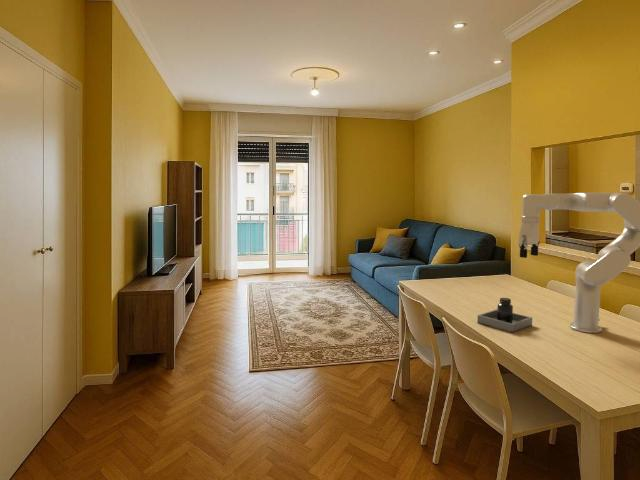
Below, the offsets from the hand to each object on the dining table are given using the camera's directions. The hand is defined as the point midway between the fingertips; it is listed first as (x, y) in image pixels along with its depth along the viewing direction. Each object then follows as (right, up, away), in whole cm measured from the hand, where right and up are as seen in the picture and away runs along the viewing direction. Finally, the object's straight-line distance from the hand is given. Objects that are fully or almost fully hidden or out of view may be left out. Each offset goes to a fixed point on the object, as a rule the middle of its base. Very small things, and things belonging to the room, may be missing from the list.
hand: (528, 256), depth 191 cm
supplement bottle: (-10, -33, +4) cm, 34 cm away
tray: (-10, -33, +4) cm, 35 cm away
